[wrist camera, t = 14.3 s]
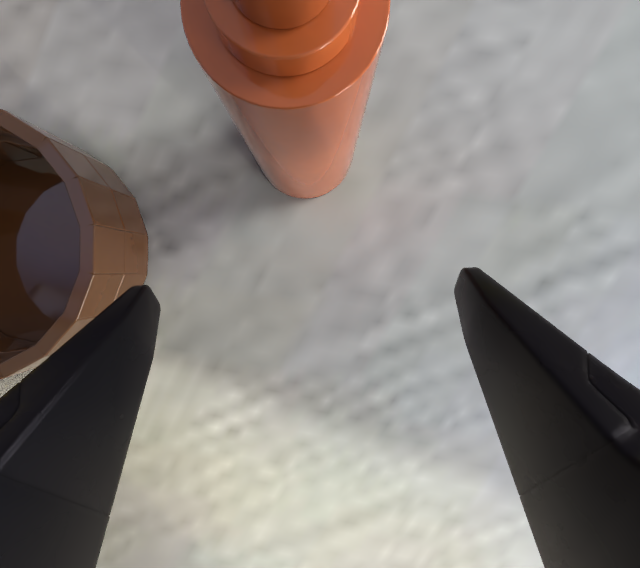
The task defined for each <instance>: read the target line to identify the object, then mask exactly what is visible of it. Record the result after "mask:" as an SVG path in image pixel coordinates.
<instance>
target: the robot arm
mask: <svg viewBox="0 0 640 568" xmlns="http://www.w3.org/2000/svg"><path fill="white" fill-rule="evenodd" d="M454 294H455V299H456V304H457V308H458V313H459V317H460V322H461V326H462V331H463V335H464V339H465V343H466V346H467V349H468V352H469V355H470V357H471V360H472V363H473V366H474V369H475V371H476V374H477V377H478V380H479V383H480V386H481V388H482V391H483V394H484V397H485V400H486V403H487V405H488V408H489V411H490V414H491V417H492V420H493V422H494V425H495V428H496V431H497V434H498V437H499V439H500V442H501V445H502V448H503V451H504V454H505V456H506V459H507V462H508V465H509V468H510V470H511V473H512V476H513V479H514V482H515V485H516V487H517V490H518V493H519V495H520V499H521V502H522V505H523V508H524V511H525V513H526V516H527V519H528V522H529V525H530V528H531V530H532V533H533V536H534V539H535V542H536V545H537V547H538V550H539V553H540V556H541V559H542V562H543V564H544V567H545V568H640V390H639V389H638V388H636V387H635V386H633V385H632V384H631V383H629V382H628V381H626V380H625V379H623V378H622V377H621V376H619V375H618V374H617V373H615V372H614V371H613V370H611V369H610V368H609V367H607V366H606V365H604V364H603V363H602V362H601V361H599V360H598V359H597V358H595V357H594V356H593V355H591V354H590V353H588V354H587V351H586V350H585V349H583V348H582V347H581V346H580V345H578V344H577V343H576V342H574V341H573V340H572V339H570V338H569V337H568V336H567V335H565V334H564V333H563V332H561V331H560V330H559V329H557V328H556V327H555V326H553V325H552V324H551V323H550V322H548V321H547V320H546V319H544V318H543V317H542V316H540V315H539V314H538V313H537V312H535V311H534V310H533V309H531V308H530V307H529V306H527V305H526V304H525V303H524V302H522V301H521V300H520V299H518V298H517V297H516V296H514V295H513V294H512V293H511V292H509V291H508V290H507V289H505V288H504V287H503V286H501V285H500V284H499V283H497V282H496V281H495V280H494V279H492V278H491V277H490V276H488V275H487V274H486V273H484V272H483V271H482V270H481V269H479V268H476V267H472V268H463V269H462V270H461V272H460V274H459V277H458V280H457V282H456V285H455V289H454ZM159 316H160V304H159V302H158V300H157V298H156V297H155V295H154V293H153V292H152V290H151V288H150V287H149V286H147V285H135V286H132V287H130V288H129V289H128V290H127V291H125V292H124V293H123V294H122V295H121V296H120V297H118V298H117V299H116V300H115V301H114V302H113V303H111V304H110V305H109V306H108V307H107V308H106V309H104V310H103V311H102V312H101V313H100V314H98V315H97V316H96V317H95V318H94V319H93V320H91V321H90V322H89V323H88V324H87V325H86V326H84V327H83V328H82V329H81V330H80V331H79V332H77V333H76V334H75V335H74V336H73V337H72V338H70V339H69V340H68V341H67V342H66V343H65V344H63V345H62V346H61V347H60V348H59V349H57V350H56V351H55V352H54V353H53V354H52V355H50V356H49V357H48V358H47V359H46V360H45V361H43V362H42V363H41V364H40V365H39V366H38V367H36V368H35V369H34V370H33V371H32V372H30V373H29V374H28V375H27V376H26V377H25V378H23V379H22V380H21V383H17V384H16V385H15V386H14V387H13V388H12V389H10V390H9V391H8V392H7V393H6V394H5V395H3V396H2V397H1V398H0V568H96V564H97V560H98V557H99V553H100V549H101V546H102V542H103V539H104V535H105V531H106V528H107V524H108V521H109V515H110V512H111V509H112V505H113V502H114V498H115V494H116V491H117V487H118V483H119V480H120V476H121V473H122V469H123V465H124V462H125V458H126V454H127V451H128V447H129V444H130V440H131V436H132V433H133V429H134V425H135V422H136V418H137V414H138V411H139V407H140V404H141V400H142V396H143V393H144V389H145V385H146V382H147V378H148V375H149V371H150V367H151V364H152V360H153V355H154V350H155V343H156V336H157V330H158V323H159Z"/></svg>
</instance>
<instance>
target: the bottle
mask: <svg viewBox="0 0 640 568" xmlns="http://www.w3.org/2000/svg"><path fill="white" fill-rule="evenodd" d="M180 6H181V17H182V23H183V27H184V32H185V35H186V38H187V41H188V43H189V46H190V48H191V50H192V52H193V54H194V56H195V58H196V60H197V61H198V63H199V65H200V66H201V68H202V70H203V71H204V73H205V75H206V77H207V78H208V80H209V82H210V83H211V85H212V87H213V88H214V90H215V92H216V93H217V95H218V97H219V99H220V100H221V102H222V104H223V105H224V107H225V109H226V110H227V112H228V114H229V115H230V117H231V119H232V121H233V122H234V124H235V126H236V127H237V129H238V131H239V132H240V134H241V136H242V137H243V139H244V141H245V143H246V144H247V146H248V148H249V149H250V151H251V153H252V154H253V156H254V158H255V159H256V161H257V163H258V165H259V166H260V168H261V170H262V171H263V173H264V175H265V176H266V178H267V179H268V181H269V182H270V183H271V184H272V185H273V186H274V187H275V188H277V189H278V190H279V191H281V192H283V193H285V194H287V195H289V196H292V197H297V198H314V197H319V196H321V195H324V194H326V193H328V192H330V191H331V190H333V189H334V188H335V187H336V186H338V185H339V184H340V182H341V181H342V180H343V179H344V177H345V176H346V174H347V172H348V170H349V168H350V165H351V161H352V158H353V154H354V150H355V147H356V143H357V139H358V135H359V132H360V128H361V124H362V120H363V117H364V113H365V109H366V106H367V102H368V98H369V94H370V91H371V87H372V83H373V79H374V76H375V72H376V68H377V65H378V61H379V57H380V53H381V50H382V46H383V42H384V38H385V35H386V31H387V26H388V21H389V16H390V0H181V1H180Z"/></svg>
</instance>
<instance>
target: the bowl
mask: <svg viewBox="0 0 640 568" xmlns="http://www.w3.org/2000/svg"><path fill="white" fill-rule="evenodd" d="M147 266H148V236H147V231H146V229H145V226H144V223H143V220H142V217H141V214H140V211H139V208H138V205H137V202H136V200H135V197H134V196H133V195H132V194H131V192H130V191H129V190H128V189H127V187H126V186H125V185H124V184H123V182H122V181H121V180H120V179H119V177H118V176H117V175H116V174H115V172H114V171H113V170H112V169H111V168H110V167H109V166H107V165H105V164H104V163H102V162H101V161H99V160H97V159H96V158H94V157H93V156H91V155H89V154H88V153H86V152H85V151H83V150H81V149H80V148H78V147H76V146H74V145H72V144H70V143H68V142H66V141H64V140H62V139H60V138H58V137H56V136H54V135H52V134H50V133H48V132H46V131H45V130H43V129H41V128H39V127H37V126H35V125H33V124H31V123H29V122H27V121H25V120H23V119H21V118H19V117H17V116H15V115H13V114H11V113H9V112H7V111H5V110H3V109H0V379H4V378H7V377H10V376H13V375H16V374H19V373H22V372H25V371H28V370H31V369H34V368H36V367H38V366H39V365H40V364H41V363H42V362H43V361H45V360H46V359H47V358H48V357H49V356H50V355H52V354H53V353H54V352H55V351H56V350H57V349H59V348H60V347H61V346H62V345H63V344H65V343H66V342H67V341H68V340H69V339H70V338H72V337H73V336H74V335H75V334H76V333H77V332H79V331H80V330H81V329H82V328H83V327H84V326H86V325H87V324H88V323H89V322H90V321H91V320H93V319H94V318H95V317H96V316H97V315H98V314H100V313H101V312H102V311H103V310H104V309H106V308H107V307H108V306H109V305H110V304H111V303H113V302H114V301H115V300H116V299H117V298H118V297H120V296H121V295H122V294H123V293H124V292H125V291H127V290H128V289H129V288H130V287H132V286H135V285H143V284H144V281H145V279H146V276H147Z"/></svg>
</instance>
